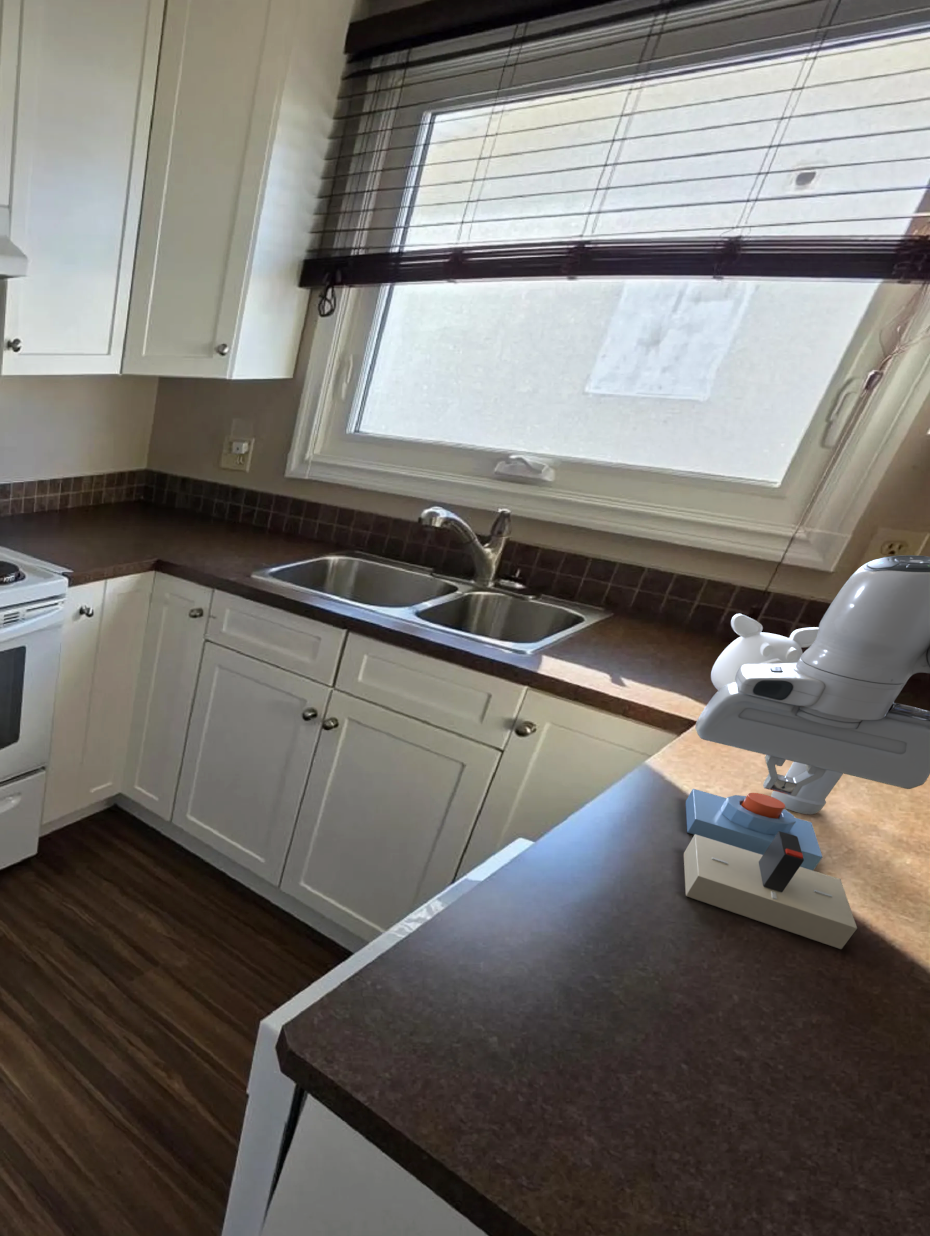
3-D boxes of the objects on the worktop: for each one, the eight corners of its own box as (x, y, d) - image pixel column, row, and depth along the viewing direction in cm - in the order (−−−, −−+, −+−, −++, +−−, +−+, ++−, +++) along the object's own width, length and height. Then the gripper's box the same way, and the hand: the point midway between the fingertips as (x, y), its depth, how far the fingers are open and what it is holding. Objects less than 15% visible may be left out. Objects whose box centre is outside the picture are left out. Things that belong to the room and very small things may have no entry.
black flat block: (758, 862, 94) (779, 828, 92) (776, 867, 93) (798, 834, 91) (763, 886, 90) (785, 852, 88) (782, 892, 89) (805, 858, 87)
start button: (776, 811, 103) (783, 799, 103) (779, 822, 101) (787, 811, 100) (739, 800, 105) (746, 789, 105) (741, 811, 103) (748, 800, 102)
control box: (826, 899, 93) (841, 877, 92) (841, 949, 86) (858, 927, 84) (683, 853, 100) (695, 832, 99) (685, 896, 93) (698, 874, 91)
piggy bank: (726, 711, 139) (771, 630, 132) (683, 683, 150) (723, 607, 143) (807, 719, 138) (857, 638, 131) (757, 691, 148) (802, 614, 141)
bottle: (766, 802, 112) (870, 637, 101) (771, 790, 115) (874, 628, 104) (816, 819, 109) (931, 650, 97) (821, 807, 112) (932, 641, 100)
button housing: (802, 835, 105) (819, 810, 103) (812, 871, 98) (831, 845, 96) (685, 801, 112) (699, 777, 110) (687, 832, 105) (702, 807, 103)
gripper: (960, 708, 91) (891, 810, 98) (724, 661, 102) (675, 755, 109) (976, 727, 87) (903, 832, 93) (728, 676, 98) (677, 773, 104)
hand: (778, 790), depth 101 cm, fingers closed
